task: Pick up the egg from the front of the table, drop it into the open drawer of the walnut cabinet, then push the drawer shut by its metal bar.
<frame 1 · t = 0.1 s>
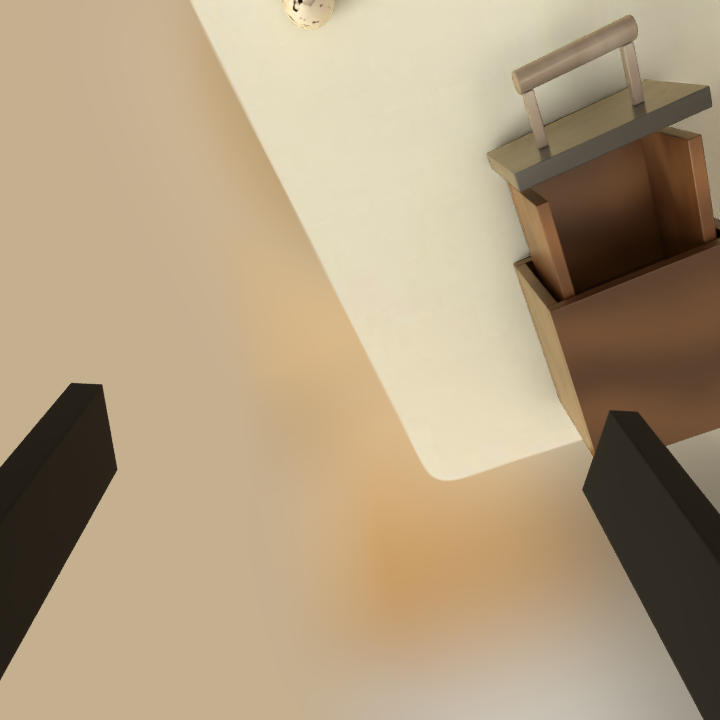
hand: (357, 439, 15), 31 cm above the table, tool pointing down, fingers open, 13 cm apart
cabinet: (610, 308, 47), on the table
drawer: (599, 186, 38), point 5 cm above the table, slide at 8.0 cm
egg: (311, 2, 37), on the table
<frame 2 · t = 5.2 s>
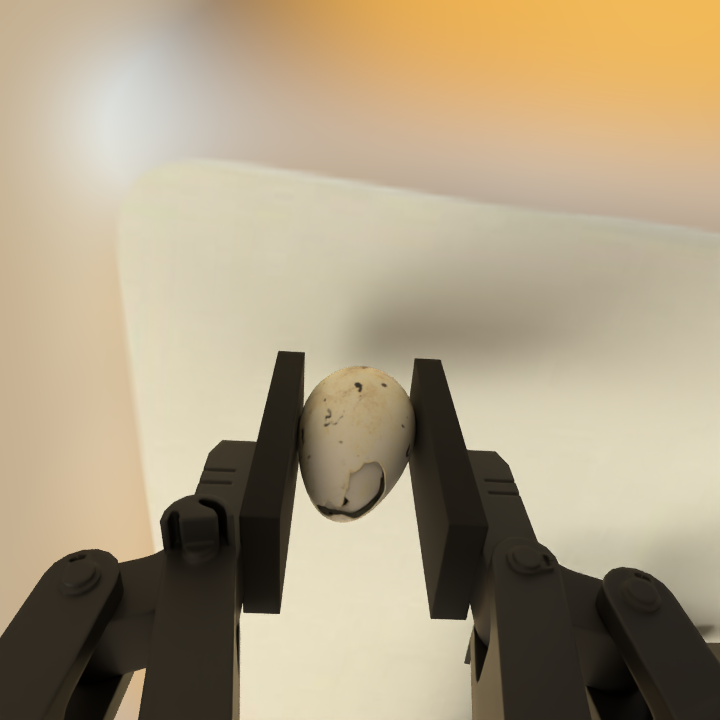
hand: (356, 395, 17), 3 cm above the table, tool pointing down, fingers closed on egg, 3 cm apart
egg: (356, 387, 17), point 2 cm above the table, touching gripper
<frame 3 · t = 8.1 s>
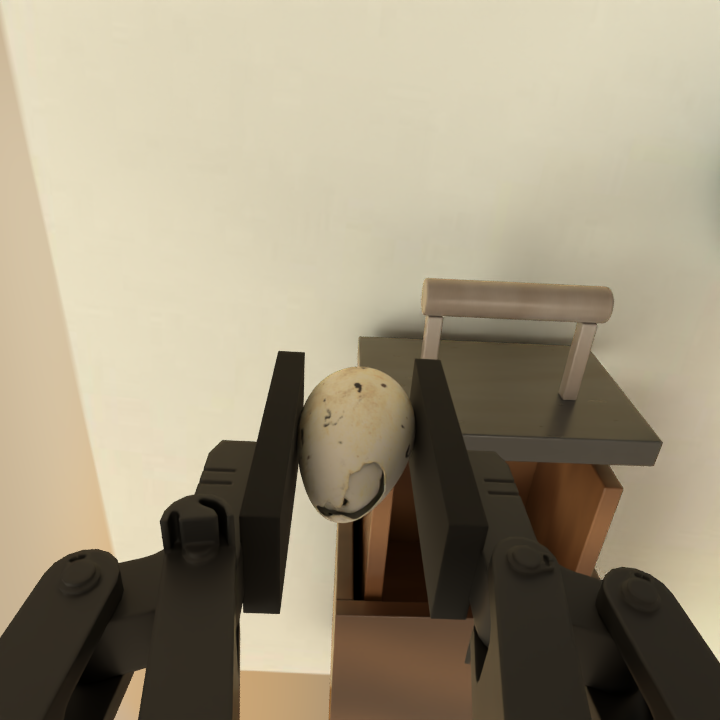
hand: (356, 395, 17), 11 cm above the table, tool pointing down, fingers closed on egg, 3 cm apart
cabinet: (432, 560, 36), on the table
drawer: (475, 460, 26), point 5 cm above the table, slide at 8.0 cm
egg: (355, 387, 17), point 11 cm above the table, touching gripper
when the fingers open (5 cm above the table, at t = 11.4 s): egg stays where it is, resting on drawer.
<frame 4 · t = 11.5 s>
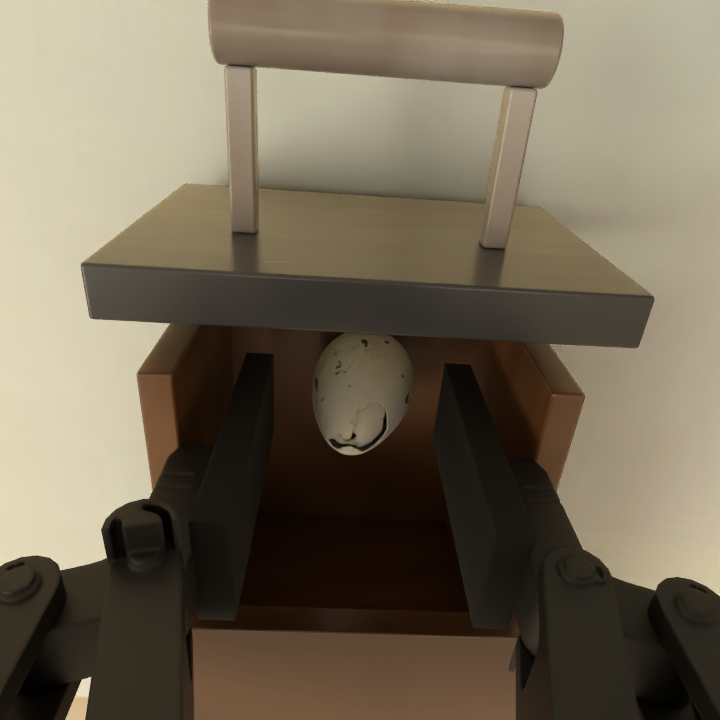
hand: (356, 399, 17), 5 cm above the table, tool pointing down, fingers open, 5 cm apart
cabinet: (338, 550, 27), on the table
drawer: (357, 372, 16), point 5 cm above the table, slide at 8.2 cm, touching egg, gripper
egg: (362, 350, 19), point 2 cm above the table, touching drawer
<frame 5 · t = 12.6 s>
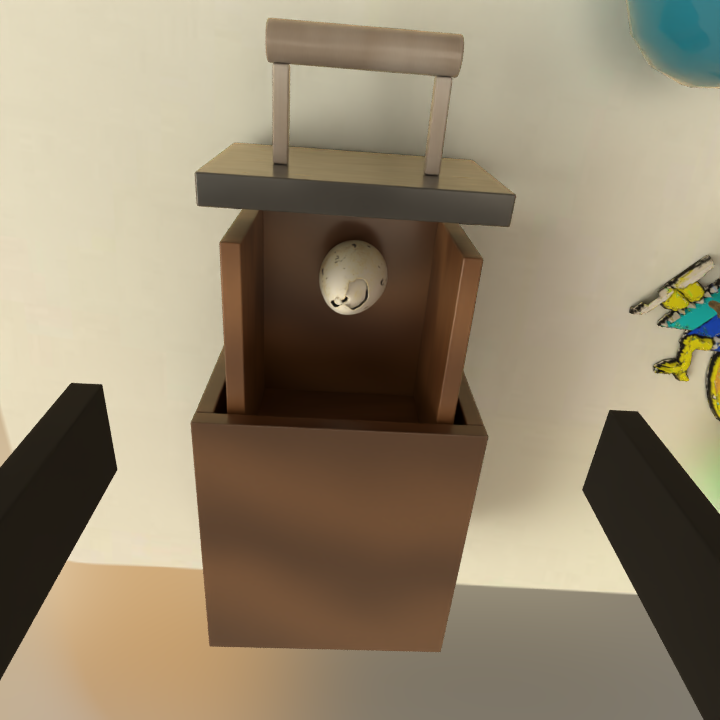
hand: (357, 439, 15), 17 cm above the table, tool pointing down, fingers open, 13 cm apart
cabinet: (335, 435, 35), on the table
toy: (700, 260, 30), on the table, touching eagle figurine, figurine
drawer: (349, 264, 25), point 5 cm above the table, slide at 8.7 cm, touching egg
egg: (353, 261, 28), point 2 cm above the table, touching drawer
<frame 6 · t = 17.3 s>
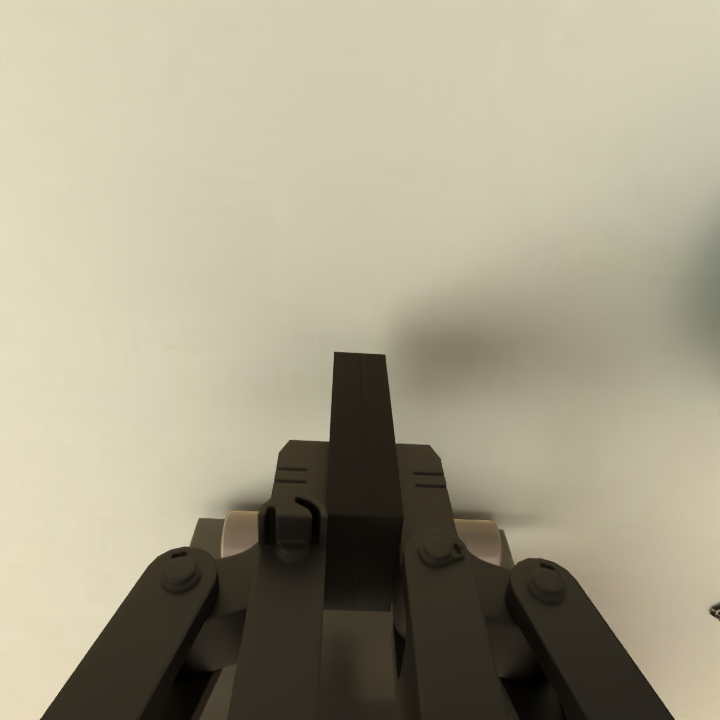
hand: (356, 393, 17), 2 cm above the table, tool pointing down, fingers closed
drawer: (345, 695, 20), point 5 cm above the table, slide at 6.5 cm, touching egg, gripper
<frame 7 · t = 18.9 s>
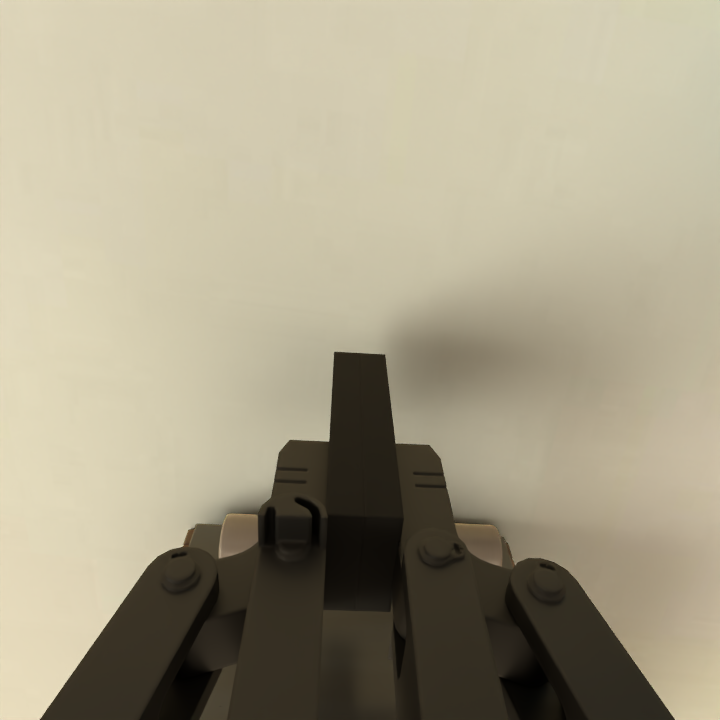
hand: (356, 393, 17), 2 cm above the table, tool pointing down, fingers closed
drawer: (343, 705, 19), point 5 cm above the table, slide at 0.0 cm, touching cabinet, egg, gripper
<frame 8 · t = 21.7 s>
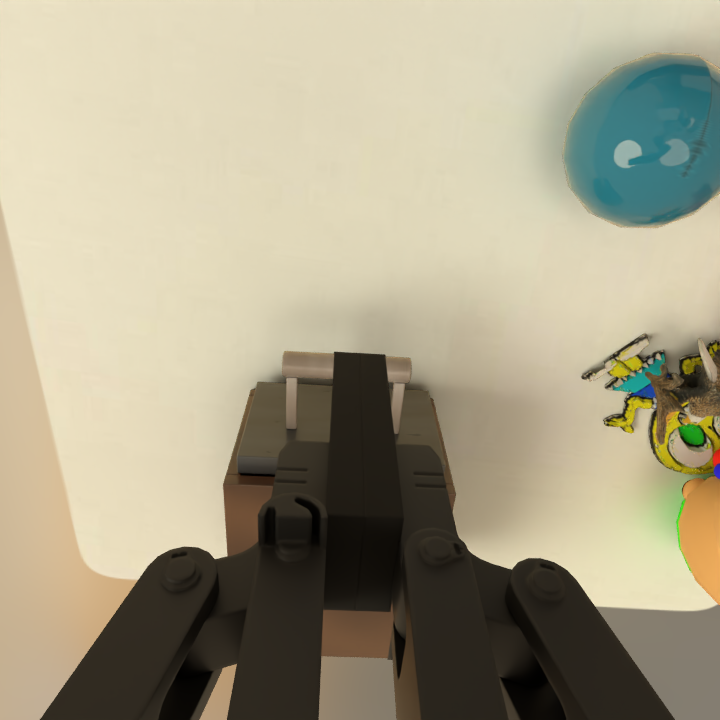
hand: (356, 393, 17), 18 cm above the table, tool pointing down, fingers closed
cabinet: (337, 475, 42), on the table
toy: (638, 338, 36), on the table, touching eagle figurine, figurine
ball: (613, 133, 31), on the table
drawer: (339, 474, 36), point 5 cm above the table, slide at 0.0 cm, touching egg
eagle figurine: (650, 387, 35), point 3 cm above the table, touching toy
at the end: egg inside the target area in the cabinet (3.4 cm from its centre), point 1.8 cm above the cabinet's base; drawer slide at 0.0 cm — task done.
